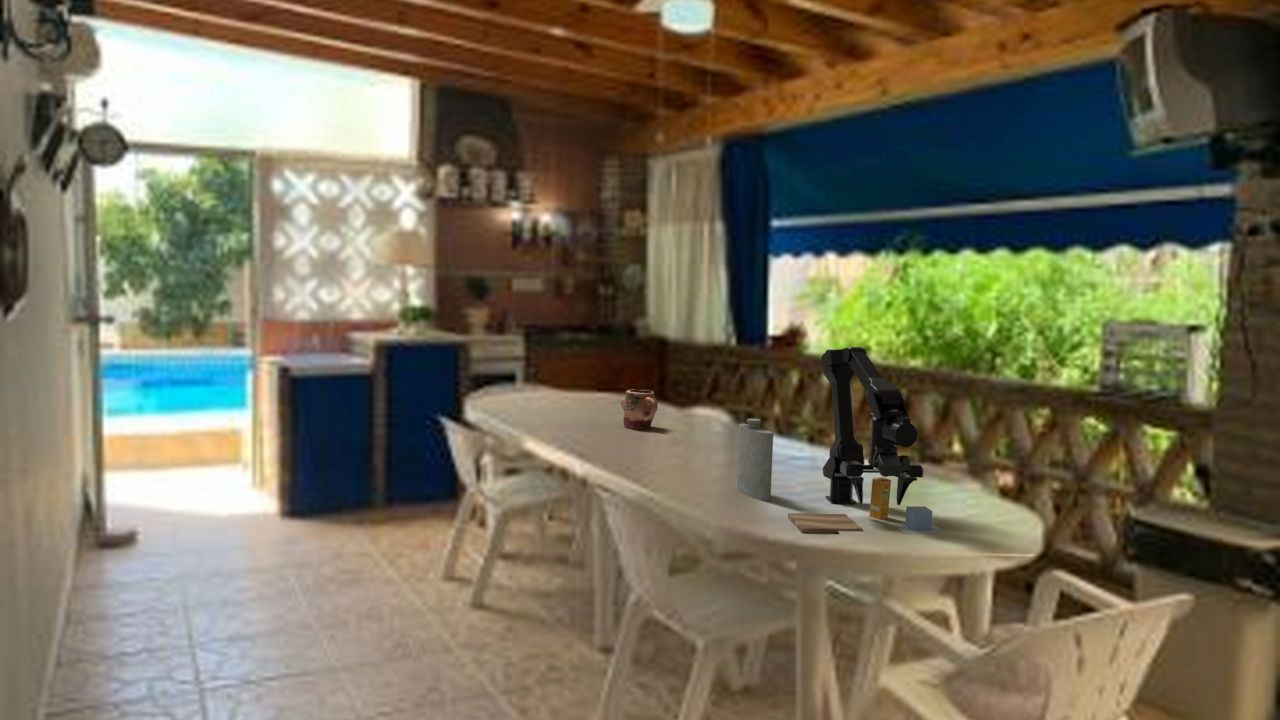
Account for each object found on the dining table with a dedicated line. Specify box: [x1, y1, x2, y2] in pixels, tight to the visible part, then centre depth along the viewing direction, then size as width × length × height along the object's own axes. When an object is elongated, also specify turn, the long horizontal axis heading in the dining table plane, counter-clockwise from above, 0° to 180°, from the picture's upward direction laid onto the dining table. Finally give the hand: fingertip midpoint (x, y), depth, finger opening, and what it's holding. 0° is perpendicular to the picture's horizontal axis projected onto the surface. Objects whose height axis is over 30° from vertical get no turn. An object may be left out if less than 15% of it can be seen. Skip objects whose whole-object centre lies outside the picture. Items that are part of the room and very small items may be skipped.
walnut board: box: [787, 512, 863, 534], centre depth 235 cm, size 14×14×1 cm
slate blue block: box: [905, 505, 933, 531], centre depth 232 cm, size 4×4×4 cm
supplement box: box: [869, 476, 892, 520], centre depth 241 cm, size 3×3×10 cm
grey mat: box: [889, 521, 948, 535], centre depth 232 cm, size 10×10×1 cm
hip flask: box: [736, 418, 774, 502], centre depth 265 cm, size 16×4×20 cm, turn 20°
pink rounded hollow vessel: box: [620, 388, 659, 430], centre depth 370 cm, size 20×12×14 cm, turn 36°
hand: (879, 504), depth 242 cm, fingers open, 9 cm apart
